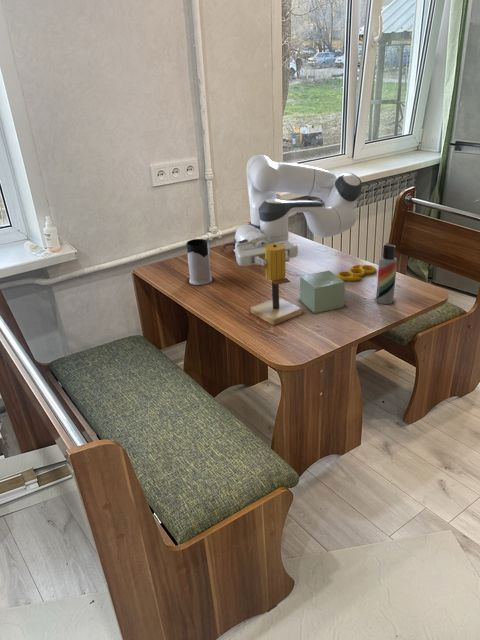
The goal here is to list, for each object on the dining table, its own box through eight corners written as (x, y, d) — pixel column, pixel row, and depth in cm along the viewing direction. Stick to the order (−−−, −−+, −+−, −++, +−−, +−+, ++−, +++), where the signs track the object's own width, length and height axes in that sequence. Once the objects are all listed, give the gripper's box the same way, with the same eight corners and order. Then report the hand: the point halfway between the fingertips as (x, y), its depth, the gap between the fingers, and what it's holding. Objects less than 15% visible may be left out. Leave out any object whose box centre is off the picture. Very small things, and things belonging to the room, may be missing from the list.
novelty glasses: (330, 275, 201) (347, 284, 193) (331, 271, 200) (347, 280, 193) (365, 265, 208) (382, 273, 200) (365, 262, 207) (382, 270, 199)
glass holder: (185, 283, 199) (180, 245, 192) (201, 269, 211) (198, 232, 203) (206, 286, 196) (202, 247, 189) (221, 271, 208) (218, 234, 200)
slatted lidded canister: (262, 275, 170) (261, 243, 165) (280, 271, 172) (280, 239, 167) (273, 285, 163) (272, 252, 158) (292, 281, 165) (291, 248, 159)
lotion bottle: (372, 299, 182) (377, 243, 171) (386, 295, 183) (391, 240, 173) (382, 305, 177) (387, 248, 167) (396, 302, 179) (402, 245, 169)
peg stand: (250, 312, 176) (247, 255, 166) (278, 302, 183) (276, 246, 172) (273, 325, 168) (271, 265, 158) (301, 313, 174) (301, 255, 164)
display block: (300, 300, 183) (300, 276, 178) (328, 294, 186) (329, 270, 182) (314, 313, 174) (314, 288, 170) (343, 306, 178) (345, 282, 173)
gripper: (288, 251, 181) (306, 265, 170) (231, 261, 175) (246, 276, 164) (288, 233, 178) (306, 246, 167) (230, 243, 172) (245, 257, 161)
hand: (276, 261), depth 165 cm, fingers closed on slatted lidded canister, 6 cm apart
